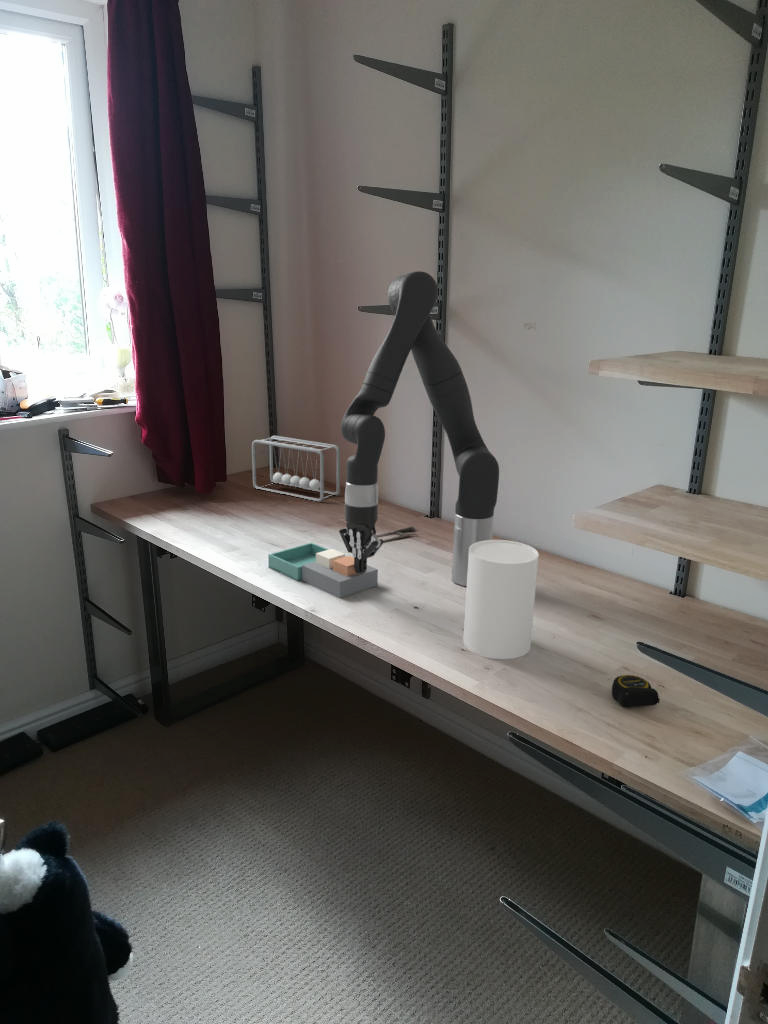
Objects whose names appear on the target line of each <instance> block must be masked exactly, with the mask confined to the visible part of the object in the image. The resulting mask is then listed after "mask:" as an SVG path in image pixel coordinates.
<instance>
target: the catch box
mask: <svg viewBox="0 0 768 1024" xmlns="http://www.w3.org/2000/svg"><path fill="white" fill-rule="evenodd" d="M329 549H330V548H326V547H324V546H321V545H319V544H317V543H314V542H308V543H306V544H305V543H304V544H302V545H298V546H294V547H291V548H287V549H284V550H283V549H282V550H280V551H275V552H273V553H269V554H268V557H267V559H268V568H269V569H271V570H273V571H275V572H277V573H280V574H282V575H283V576H285V577H288V578H290V579H293V580H295V581H296V582H300V581H302V565H304V564H308V563H311V562H314V561H316V553H319V552H322V551H326V550H329Z"/></svg>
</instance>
